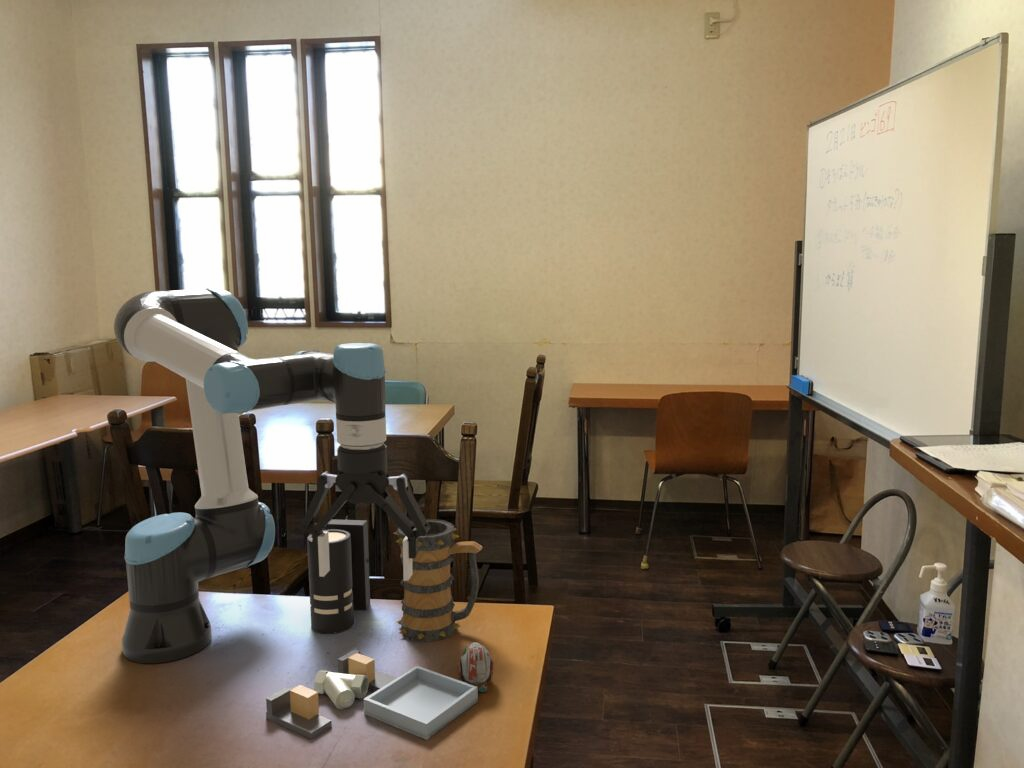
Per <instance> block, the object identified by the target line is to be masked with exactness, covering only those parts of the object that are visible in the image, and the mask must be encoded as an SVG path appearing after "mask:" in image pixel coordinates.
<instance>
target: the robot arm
mask: <svg viewBox="0 0 1024 768" xmlns="http://www.w3.org/2000/svg"><path fill="white" fill-rule="evenodd" d="M113 333H114V337H115V340H116V341H117V344H118V345H119V347H121V349H122V350H124V352H126V353H128V354H129V355H130V356H132V357H134V358H135V359H138V360H139V361H143V362H148V363H149V362H150V363H151V362H155V363H156V364H158V365H161V366H162V367H164V368H165V369H168V370H170V371H171V372H173V373H175V374H177V375H179V376H180V377H182V378H184V379H185V383H186V384H185V385H186V391H187V397H188V398H187V399H188V405H189V406H188V407H189V413H190V420H191V427H192V434H193V436H192V437H193V442H194V449H195V450H194V451H195V456H196V464H197V470H198V479H199V485H200V492H201V493H200V494H201V496H200V498H199V499H198V501H196V503H195V505H194V512H195V513H194V514H195V517H193V515H191V514H190V513H187V512H181V511H180V512H179V511H178V512H171V513H162V514H159V515H154V516H151V517H149V518H146V519H144V520H142V521H140V522H138V523H137V524H135V525H133V526H132V527H131V529H130V530H129V531H128V532H127V534H126V536H125V541H124V542H125V544H124V546H125V547H124V548H125V549H124V560H125V567H126V576H127V577H126V578H127V587H128V598H129V601H128V602H129V612H128V613H129V614H128V616H127V620H126V623H125V628H124V632H123V635H122V638H121V647H122V648H121V650H122V654H123V656H124V658H125V659H127V660H129V661H131V662H134V663H138V664H140V663H141V664H160V663H162V664H163V663H169V662H172V661H177V660H181V659H184V658H187V657H190V656H192V655H195V654H197V653H198V652H200V651H202V650H203V649H205V648H206V647H207V646H208V645H209V644H210V643H211V641H212V637H213V635H212V625H211V622H210V620H209V618H208V616H207V614H206V611H205V609H204V606H203V604H202V602H201V600H200V594H199V582H201V581H205V580H206V579H207V580H208V579H211V578H213V577H217V576H219V575H220V576H221V575H224V574H226V573H231V572H234V571H237V570H240V569H246V568H249V567H251V566H252V565H255V564H257V563H258V564H259V563H260V562H262V561H264V560H265V559H266V558H267V557H268V555H269V554H270V552H271V551H272V549H273V546H274V543H275V538H276V537H275V536H276V527H275V526H276V525H275V520H274V517H273V515H272V514H271V510H270V508H269V506H267V505H266V503H263V502H260V501H259V496H258V494H257V493H255V492H254V491H253V490H251V489H250V488H249V482H248V475H247V469H246V468H247V467H246V461H245V454H244V445H243V439H242V437H243V436H242V431H241V424H240V417H239V416H240V415H239V414H243V413H247V412H252V411H256V410H264V409H268V408H269V409H270V408H275V407H280V406H287V405H295V404H301V403H306V402H313V401H314V402H315V401H327V402H333V403H335V422H336V424H335V425H336V426H335V427H336V442H337V443H338V444H339V445H338V447H337V449H336V452H337V453H336V455H337V474H332V473H331V472H329V471H327V470H326V471H324V472H322V474H320V475H319V476H318V477H317V487H316V491H315V493H314V495H313V497H312V500H311V501H310V503H309V506H308V508H307V510H306V512H305V514H304V517H303V519H302V521H301V523H300V525H299V530H300V531H301V532H303V533H305V532H307V533H310V534H311V535H312V545H313V553H314V554H318V555H319V576H320V577H324V576H325V575H326V574H327V573H328V572H329V571H330V561H329V536H328V531H322V530H323V529H324V528H325V527H326V525H327V524H328V523H329V522H330V521H331V519H333V518H334V517H335V516H336V515H337V514H338V512H339V511H340V510H341V508H343V507H344V505H345V504H346V503H347V502H348V501H349V503H352V505H358V504H365V505H371V506H372V505H373V504H375V503H376V505H377V506H378V507H379V508H381V509H382V511H384V512H385V513H386V514H387V515H388V517H389V518H390V519H391V520H392V522H394V524H395V525H396V527H399V528H400V529H401V531H402V532H403V533H404V534H405V535H406V537H405V538H404V539H403V565H402V566H403V567H402V568H403V569H402V570H403V573H402V574H403V576H404V581H408V580H409V579H410V577H411V576H412V574H413V570H412V559H415V558H416V556H417V554H418V537H420V536H425V535H426V533H427V532H428V530H429V529H430V527H429V525H428V523H427V521H426V519H427V518H426V517H425V514H424V513H423V511H422V509H421V507H420V505H419V504H418V501H417V500H416V498H415V496H414V494H413V492H412V490H411V487H410V482H409V477H408V475H407V474H406V473H401V474H400V475H396V476H390V475H389V471H388V452H387V451H388V449H387V447H388V446H387V445H386V444H385V442H386V441H387V439H388V438H387V420H386V419H387V418H386V372H387V371H386V367H385V360H384V359H385V358H384V350H383V348H382V347H381V346H380V345H379V344H376V343H371V342H366V343H364V342H349V343H348V342H347V343H342V344H338V345H336V346H335V347H334V348H333V353H328V352H323V351H320V350H301V351H300V350H299V351H297V352H295V353H294V354H292V355H282V356H274V357H273V356H272V357H263V358H253V357H250V356H248V355H245V354H243V353H242V352H239V348H241V347H242V346H244V345H245V343H246V341H247V339H248V336H247V335H248V334H249V324H248V318H247V314H246V312H245V309H244V307H243V305H242V304H241V302H240V301H239V299H238V298H236V296H235V295H234V294H233V293H231V292H230V291H228V290H225V289H219V288H218V289H217V288H196V289H194V288H193V289H192V288H191V289H177V290H151V291H146V292H142V293H139V294H137V295H134V296H133V297H131V298H129V299H128V300H127V301H125V302H124V303H123V304H122V306H121V307H120V308H119V309H118V311H117V313H116V315H115V318H114V322H113ZM334 484H336V486H337V487H338V489H339V490H340V492H341V494H340V495H339V496H338V497H337V498H336V500H335V501H334V502H333V504H332V505H331V506H330V507H329V508H328V509H327V511H326V512H325V513H324V514H323V515H322V517H321V518H320V519H319V520H318V521H317V522H315V520H316V517H317V515H318V513H319V511H320V508H321V507H322V505H323V502H324V500H325V498H326V496H327V494H328V492H329V490H330V489H331V488H332V487H333V486H334ZM389 486H392V488H393V489H394V490H395V491H397V493H398V496H399V499H400V500H401V503H402V504H403V506H404V508H405V511H406V512H407V514H408V515H409V517H408V516H407V515H406V514H405V512H404V511H403V510H402V509H401V507H400V506H399V505H398V504H397V503H396V502H395V501H394V499H393V497H392V495H391V494H390V492H388V490H387V489H388V487H389ZM411 521H412V522H413V523H412V522H411ZM310 534H309V535H310Z"/></svg>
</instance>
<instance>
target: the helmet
mask: <svg viewBox="0 0 1024 768" xmlns="http://www.w3.org/2000/svg"><path fill="white" fill-rule="evenodd" d="M494 663H495V662H494V660H493V659H492V658H491V655H490V652H489V650H488V649H487V647H486V646H485V645H483V644H481V643H479V642H477V641H475V642H472V643H470V644H468V645H466V647H465V648H464V649H463V651H462V653H461V656H460V660H459V661H458V663H457V669H458V671H457V672H458V677H459V680H460V681H462V682H465V683H466V681H467V683H469V684H473V685H474V686H476V687H478V692H480V693H485V692H487V690H488V687H487V686H488V685H487V684H489V683H490V682H491V680H492V678H493V675H494V665H495V664H494ZM484 682H485V683H484ZM483 683H484V684H483ZM479 684H481V685H479Z"/></svg>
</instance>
